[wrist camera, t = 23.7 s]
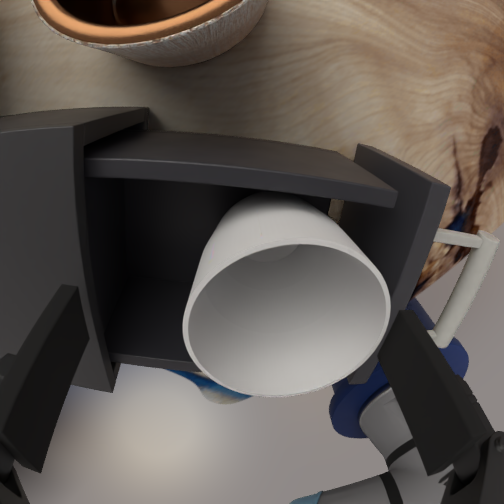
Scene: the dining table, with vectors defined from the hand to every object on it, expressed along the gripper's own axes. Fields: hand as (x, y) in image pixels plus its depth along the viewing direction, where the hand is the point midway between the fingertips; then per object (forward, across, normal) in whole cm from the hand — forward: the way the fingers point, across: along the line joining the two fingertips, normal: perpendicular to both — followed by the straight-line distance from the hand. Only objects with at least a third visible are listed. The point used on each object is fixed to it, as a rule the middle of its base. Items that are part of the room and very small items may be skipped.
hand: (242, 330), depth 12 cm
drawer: (+11, +3, 0) cm, 11 cm away
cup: (+10, +2, 0) cm, 10 cm away
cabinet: (+12, -15, 0) cm, 19 cm away
